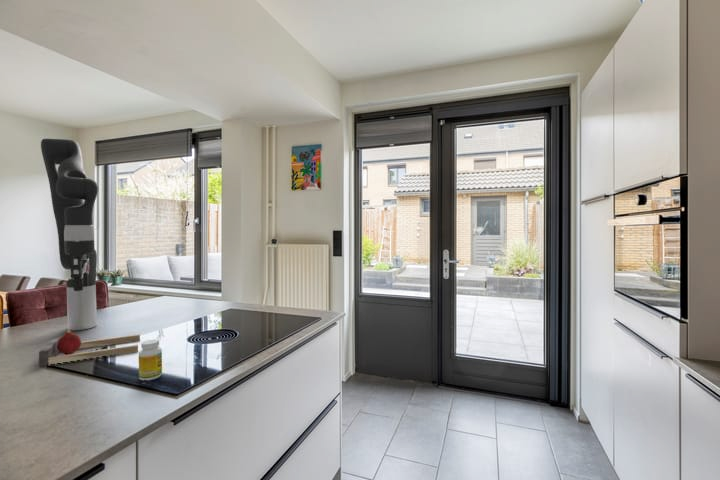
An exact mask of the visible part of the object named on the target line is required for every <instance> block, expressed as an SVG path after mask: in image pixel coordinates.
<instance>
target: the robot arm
mask: <svg viewBox="0 0 720 480" xmlns="http://www.w3.org/2000/svg"><path fill="white" fill-rule="evenodd" d="M40 150H41V155H42V159H43V162H44V166H45V167H44V168H45V170H46V175H47V178H48V183H49V189H50V198H51V204H52V210H53V215H54V219H55V225H56V229H57V236H58V237H57V239H58V251H59V260H60V261H59V262H60V263H61V267H62V268H64V269H65V270H70V278H68V279H67V280H66V283H65V285H66V311H67V314H66V315H67V330H69V331H81V330H87V329H91V328H95V327H96V326H97V321H98V320H97V289H96V287H97V286H96V285H97V284H96V283H97V282H96V280H97V264H98V254H97V251H96V249H95V233H94V232H95V230H94V225H93V223H94V221H93V220H94V218H93V212H94V206H95V203H96V199H97V196H98V194H99V185H98V182H97V181H96V180H94V179H93V178H89V177H88V176H87V174H86V172H85V169H84V162H83V161H84V160H83V155H82V149H81V147H80V144H79V143H78V142H77V141H76V140H74V139H63V138H43V139H41V142H40ZM57 165H58V168H57Z"/></svg>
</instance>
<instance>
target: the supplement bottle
mask: <svg viewBox="0 0 720 480" xmlns="http://www.w3.org/2000/svg"><path fill="white" fill-rule="evenodd" d="M159 345H160V341H159V339H148V340H145V341H142V342H141V344H140V346H141V350H140V351H138V378H139V380H140V381H144V380H145V381H146V380H147V381H152V380H155V379H158V378H160V377H161V376H162V375H163V357H162V356H163V352H162V351H163V350H162V348H161V347H159Z"/></svg>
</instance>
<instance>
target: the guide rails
mask: <svg viewBox="0 0 720 480" xmlns="http://www.w3.org/2000/svg"><path fill="white" fill-rule="evenodd" d="M60 338H61V336H60V337H54V338H53V337H52V338H51V339H50V340H49V341H48V342H47V343H46V344H45V345H44V346H43V347H42V348H41V349H40V350H39V351H38V360H39V361H38V362H39V363H38V364H39V368H41V367H48V366H51V365H50V364H55V365H58V364H57V363H61V364H64V363H63V362H68V363H71V362H70V361H74V362H78V361H77V360H80V361H84V360H83V359H87V360H90V359H89V358H93V359H97V358H96V357H100V358H103V357H102V356H106V357H110V356H109V355H112V356H117V355H118V354H119V355H124V354H131V353H137V352H138V353H139V344H131V345H127V346H119V347H112V348H104V349H97V350H91V351H85V352H84V351H83V352H77V353H73V354H70V355H65V354H63V355H58V354H60V353H61V352H60V351H59V350H58V349H57V343H58V341H59V339H60ZM137 341H138V342H139V341H141V334H140V333H137V334H131V335H122V336H117V337H116V336H114V337H107V338H101V339H94V340H93V339H91V340H85V341H81V346H80V347H79V349H78V350H81V349H82V350H83V349H89V348H96V347H102V346H109V345H117V344H124V343H130V342H131V343H132V342H137ZM47 365H48V366H47Z"/></svg>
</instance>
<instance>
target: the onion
mask: <svg viewBox="0 0 720 480" xmlns="http://www.w3.org/2000/svg"><path fill="white" fill-rule="evenodd" d="M81 342H82V341H81V338H80V336H79V335H77V334H76V333H73V332H72V331H71V330H68V329H67V331H66V333H65V334H64V335H62V336H60V339H59V341H58V343H57V349H58V350H59V351H60V352H59V353H61V354H63V355H70V354H75V352H77V351H78V350H80V349H79V347H80V346H81Z"/></svg>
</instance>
